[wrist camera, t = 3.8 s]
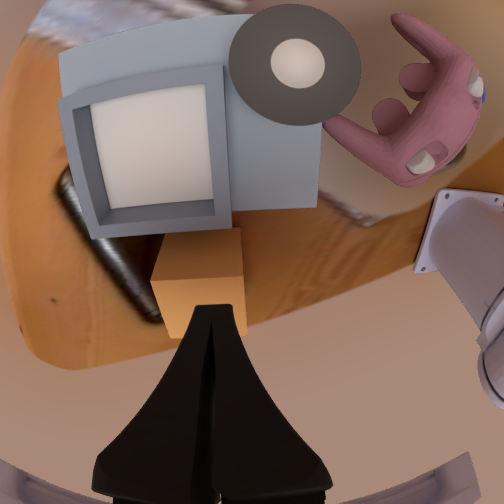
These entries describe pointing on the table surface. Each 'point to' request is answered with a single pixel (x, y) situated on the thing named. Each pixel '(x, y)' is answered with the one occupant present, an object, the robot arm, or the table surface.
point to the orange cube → (199, 276)
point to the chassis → (175, 133)
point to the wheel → (294, 64)
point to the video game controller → (419, 111)
